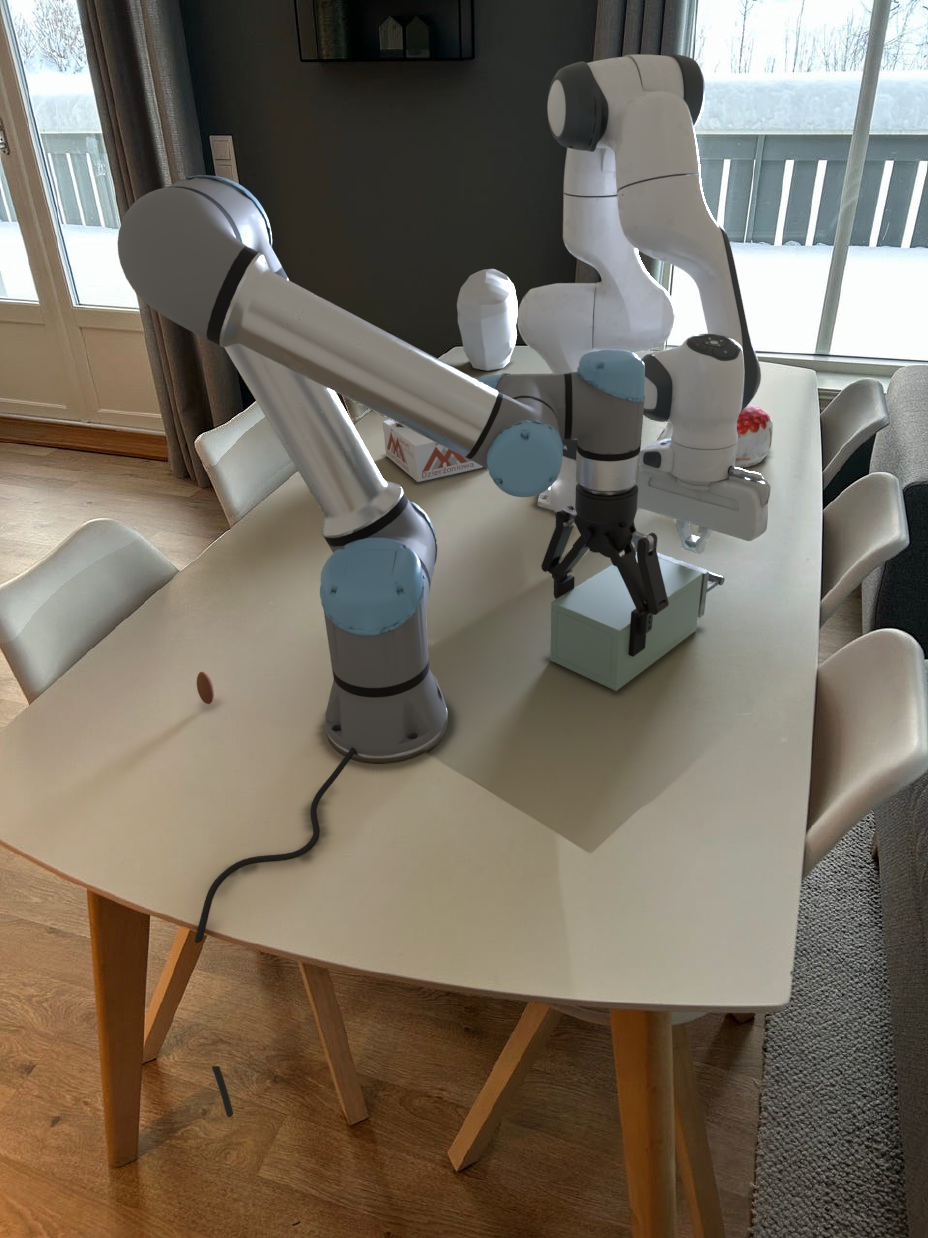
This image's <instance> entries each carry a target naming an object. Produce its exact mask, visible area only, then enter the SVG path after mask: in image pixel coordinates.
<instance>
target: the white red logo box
mask: <svg viewBox="0 0 928 1238" xmlns="http://www.w3.org/2000/svg"><path fill="white" fill-rule="evenodd" d="M382 426H383V437H384V446H385V447H384V449H385V456H386V457H388V459H390V460H391V461H392V462H393V463H394V464H396V465H397V466H398V467H399V468H400V469H402V470H403V471H404V472H405V473H406V474H407V475H409V476H410V477H411V478H412V479H413V480H414V481H416V482H417V483H420V482H425V481H429V480H433V479H434V480H435V479H438V478H443V477H447V476H453V475H455V474H460V473H464V472H470V471H473V470H478V469H483V468H484V467H483V466H481V465H479V464H477V463H475V462H474V461H472V460H470V459H468V458H466V457H464V456H462V455H460V454H458V453H456V452H454V451H452V450H450V449H448V448H446V447H444V446H442V445H440V444H438V443H436V442H434V441H432V440H430V439H428V438H426V437H424V436H422V435H420V434H418V433H416V432H414V431H412V430H410V429H408V428H406V427H404V426H402V425H400V424H398V423H396V422H394V421H392V420H390V419H386V420H382Z"/></svg>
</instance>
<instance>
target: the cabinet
mask: <svg viewBox="0 0 928 1238" xmlns="http://www.w3.org/2000/svg"><path fill="white" fill-rule="evenodd" d="M635 558H636V560H637V552H636V556H635ZM658 560H659V564H660V569H661V573H662V577H663V581H664V586H665V590H666V594H667V598H668V603H669V605H668V607H666V608H665V609H663V610H662V611H661V612H659V613H658V614H656V615H653V621H652V629H651V631H649V632H648V633H647V634H646V644H645V649H643V650H642V651H641V652H639V653H638V654H636V655H635V656H634V657H632V656H630V655H628V653H629V638H630V622H631V612H632V611H633V610H635V609H636V607H635V605H634V603H633V600H632V598H631V596H630V594H629V592H628V590H627V587H626V585H625V583H624V581H623V579H622V577H621V574H620V572H619V570H618V568H617V567H616V566H614V565H613V564H612V563H611V565H609V566H607V567H605V568H604V569H603V570H601V571H599V572H597V573H596V574H595V575H593V576H591V577H589V578H588V579H586V580H585V581H583V582H581V583H580V584H577V585H576V586H574V588H573V589H572V590H570V591H568V592H567V593H565V594H564V595H562V596H560V597H559V598H557V599H555V598H554V600H552V601H551V602H550V659H549V660H550V661H551V662H553V663H555V664H557V665H560V666H562V667H563V668H566V669H568V670H570V671H572V672H574V673H577V674H579V675H581V676H583V677H584V678H587V679H589V680H591V681H593V682H595V683H598V684H600V685H602V686H604V687H606V688H608V689H611V690H612V691H614V692H618V691H619V690H620V689H621V688H623V687H624V686H625V685H626V684H628V683H629V682H631V681H632V680H633V679H634V678H636V677H638V675H639V674H641V673H642V672H644V671H645V670H646V669H648V668H649V667H650V666H651V665H653V664H654V663H656V662H657V661H658V660H659V659H660V658H662V657H663V656H665V655H666V654H667V653H669V652H670V651H671V650H673V649H674V648H675V647H677V646H678V645H679V644H680V643H682V642H683V641H684V640H686V639H687V638H688V637H689V636H691V635H692V634H693V633H695V632H696V631H697V627H698V619H699V617H698V610H699V601H700V592H701V584H702V573H700V572H697V571H694V570H691V569H689V568H686V567H683V566H680V565H677V564H674V563H671V562H669V561H666V560H663V559H660V558H658ZM637 562H638V560H637ZM644 602H645V601H644Z"/></svg>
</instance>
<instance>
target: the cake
mask: <svg viewBox="0 0 928 1238" xmlns="http://www.w3.org/2000/svg"><path fill="white" fill-rule="evenodd" d="M773 425H774V424H773V420H772V418H771V416H770V414H769V413H768V412H767V411H766V410H765V409H763V408H761V407H759V406H756V405H749V404H748V405H747V406H746V407H745V408H744V409H743V410H742V411H741V412H740V414H739V417H738V420H737V433H738V443H737V451H736V459H735V467H736V468H740V469H741V468H748V467H751V466H756V465H757V464H759V463H761V462H762V461H763V460H764V458H766V457H767V455H768V454H769V451H770V449H771V446H772V442H773V433H774V426H773ZM672 432H673V426H672V424H671V423H669V422H667V424H666V426H665V428H664V429H663V430H662V431H661V433H660V434H659V436H658V437H657V439H656V442H657V441H660V440H663V439H669V438H671V435H672Z"/></svg>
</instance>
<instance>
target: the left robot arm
mask: <svg viewBox="0 0 928 1238" xmlns="http://www.w3.org/2000/svg"><path fill="white" fill-rule="evenodd" d="M117 235H118V236H117V255H118V259H119V264H120V267H121V269H122V272H123V274H124V276H125V279H126V280H127V283H129V285H130V287H131V288H132V290H133V292H135V294H136V295H137V296H138V297H139V298H140V299H141V300H142V301H143V302H145V304H147V305H148V307H150V308H151V309H153V310H154V311H155V312H157V313H159V314H160V315H161V316H164V318H167V319H168V320H170V321H172V322H173V323H175V324H177V325H179V326H180V327H183V328H185V329H186V330H188V331H190V332H192V333H193V334H195V335H197V336H199V337H201V338H203V339H206V340H208V341H210V342H212V343H214V344H216V345H218V346H220V347H221V348H223V349H224V350H225V351H226V353H227V355H228V356H229V359H230V360H231V361H232V363H233V365H234V367H235V368H236V370H237V371H238V373H239V375H240V376H241V378H242V380H243V381H244V383H245V385H246V386H247V388H248V390H249V391H250V393H251V395H252V396H253V398H254V399H255V401H256V403H257V405H258V406H259V408H260V410H261V412H262V413H263V415H264V416H265V418H266V420H267V421H268V424H269V425H270V426H271V427H272V429H273V431H274V434H276V436H277V438H278V440H279V442H280V443H281V445H282V447H283V448H284V449H285V451H286V453H287V454H288V456H289V458H290V460H291V461H292V463H293V465H294V466H295V468H296V469H297V472H298V473H299V475H300V477H301V478H302V479H303V481H304V483H305V485H306V487H307V488H308V490H309V491H310V493H311V495H312V496H313V498H314V500H315V501H316V503H317V505H318V506H319V508H320V510H321V511H322V513H323V519H322V523H321V526H320V530H319V531H320V533H321V535H322V537H323V539H324V540H325V541H326V544H327V545H328V547H329V548H330V550H331V552H332V553H331V554H330V555H329V557H327V559H326V560H325V562H324V563H323V566H322V568H321V572H320V586H319V597H320V602H321V607H322V609H323V615H324V616H323V617H324V623H325V628H326V636H327V642H328V650H329V657H330V663H331V664H330V665H331V671H332V677H333V681H332V685H331V689H330V692H329V697H328V701H327V705H326V710H325V715H324V727H325V728H324V729H325V733H326V738H327V741H328V743H329V745H330V746H331V748H333V749H334V750H335V751H336V752H337V753H338V754H339V755H341V756H342V757H343V758H342V759H341V760H340V762H339V763H338V765H337V766H336V768H334V771H332V773H331V774H330V776H329V777H328V778H327V779H326V780H325V782H323V784H322V785H321V786H320V788H319V789H318V791H317V792H316V794H315V795H314V797H313V799H312V802H311V805H310V810H309V811H310V814H309V815H310V822H311V827H312V836H311V838H310V839H309V841H308V842H307V843H306V844H305V845H304V846H303V847H301V848H299V849H297V850H294V851H291V852H287V853H279V854H265V855H256V856H251V857H248V858H247V857H246V858H244V859H241V860H239V861H237V862H235V863H233V864H231V865H229V867H227V868H226V869H225V870H224V871H223V872H222V873H220V874H219V875H218V876H217V877H216V879H214V881H213V882H212V884H211V885H210V886H209V888H208V891H207V893H206V895H205V899H204V903H203V906H202V910H201V914H200V918H199V922H198V926H197V930H196V934H195V937H194V938H195V939H194V943H195V944H199V943H201V942H202V941H203V939H204V936H205V932H206V928H207V924H208V919H209V916H210V912H211V907H212V904H213V900H214V897H215V895H216V892H217V891H218V889H219V887H220V886H221V885H222V883H224V881H225V880H226V879H228V878H229V877H230V876H231V875H232V874H233V873H235V872H236V871H238V870H239V869H242V868H244V867H246V866H250V865H254V864H261V863H273V862H284V861H290V860H294V859H297V858H301V857H302V856H303V855H306V854H307V853H308V852H309V851H311V850H312V849H314V847H316V844H317V843H318V841H319V838H320V832H321V830H320V823H319V819H318V806H319V803H320V801H321V800H322V798H323V796H324V795H325V793H326V792H327V791H328V789H329V788H330V787H331V786H332V785H333V783H334V782H335V781H336V780H337V778H338V777H339V775H340V774H341V773H342V772H343V770H344V769H345V767H346V766H347V765H348V763H349V762H350V761H351V760H352V761H355V762H358V763H363V764H368V765H390V764H391V765H392V764H398V763H402V762H406V761H409V760H412V759H415V758H417V757H420V756H422V755H424V754H426V753H427V752H429V751H430V750H432V749H433V748H434V747H436V746H437V745H438V743H440V742H441V740H442V739H443V738H444V736H445V734H446V732H447V729H448V725H449V720H448V719H449V717H448V708H447V705H446V701H445V697H444V695H443V693H442V690H441V688H440V685H439V682H438V680H437V678H436V677H435V676H434V674H433V673H432V671H431V669H430V659H429V657H430V656H429V655H430V654H429V643H428V630H427V629H428V628H427V613H428V612H427V611H428V604H429V598H430V591H431V586H432V582H433V575H434V570H435V565H436V563H437V558H438V544H437V542H438V541H437V536H436V535H437V534H436V531H435V528H434V525H433V522H432V520H431V519H430V517H429V516H428V514H427V513H426V512H425V510H423V508H421V507H420V506H419V505H418V504H416V503H415V502H413V501H410V500H409V498H408V496H407V495H406V493H405V491H404V489H403V487H402V486H401V485H400V484H398V483H395V482H391V481H388V480H385V479H384V478H383V475H382V474H381V472H380V470H379V468H378V467H377V464H376V463H375V461H374V459H373V457H372V456H371V454H370V452H369V450H368V449H367V447H366V445H365V443H364V441H363V439H362V438H361V436H360V434H359V432H358V431H357V429H356V426H355V425H354V423H353V421H352V419H351V417H350V416H349V414H348V412H347V411H346V409H345V407H344V404H343V403H342V402H341V399H340V398H339V396H338V394H339V395H341V396H342V397H345V398H346V399H348V400H351V401H352V402H354V403H357V404H358V405H361V406H362V407H364V408H367V409H369V410H370V411H373V412H375V413H376V414H379V415H381V416H382V417H385V418H386V419H387V420H392V421H394V422H396V423H398V424H400V425H402V426H404V427H406V428H408V429H410V430H412V431H414V432H416V433H418V434H420V435H422V436H424V437H426V438H428V439H430V440H432V441H434V442H436V443H438V444H440V445H442V446H444V447H446V448H448V449H450V450H452V451H454V452H456V453H458V454H460V455H462V456H464V457H466V458H468V459H470V460H472V461H474V462H475V463H477V464H479V465H481V466H483V468H485V469H486V470H488V473H489V476H490V478H491V479H492V481H493V483H494V484H495V485H496V486H497V488H498V489H500V490H501V491H502V492H503V493H504V494H507V495H509V496H512V497H516V498H517V497H518V498H532V497H535V496H539V495H540V493H542V492H544V491H546V490H547V489H548V488H549V487H550V486H551V485H552V484H553V483H554V482H555V481H556V480H557V477H558V475H559V473H560V470H561V464H562V456H563V444H562V440H563V439H564V440H565V439H577V456H576V481H577V482H578V484H577V485H576V496H575V509H574V507H573V506H568V507H566V508H564V509H562V510H560V511H558V512H555V527H554V530H553V533H552V535H551V537H550V540H549V544H548V547H547V549H546V552H545V555H544V557H543V559H542V562H541V570H542V571H543V572H545V573H547V572H548V573H549V574H550V575H551V577H552V579H553V598H554V600H555V599H557V598H559V597H560V596H562V595H564V594H565V593H567V592H568V591H570V590H572V589H573V588H575V576H574V575H572V574H570V573H572V572H573V569H574V568H575V567H576V566H577V564H578V563H579V562H580V561H581V559H583V557H584V555H585V554H587V552H588V551H589V552H592V553H596V554H600V555H602V556H603V557H605V558H608V559H610V562H611V565H612V564H613V565H614V566H616V567H617V568H618V570H619V572H620V574H621V577H622V579H623V581H624V583H625V585H626V587H627V590H628V592H629V594H630V596H631V598H632V600H633V603H634V605H635V607H636V609H635V610H633V611H632V612H631V622H630V638H629V653H628V655H630V656H632V657H634V656H635V655H636V654H638V653H639V652H641V651H642V650H643V649H645V644H646V634H647V633H648V632H649V631H651V629H652V621H653V615H656V614H658V613H659V612H661V611H662V610H663V609H665V608H666V607H668V605H669V603H668V598H667V594H666V590H665V586H664V581H663V577H662V573H661V569H660V564H659V560H658V556H657V553H658V552H657V548H658V535H657V534H656V533H655V532H649V533H648V534H645V533H642V532H639V531H637V528H636V526H635V518H636V515H637V511H638V508H637V500H638V486H637V485H636V484H637V482H638V480H639V466H640V450H641V449H642V448H641V447H642V437H643V424H644V423H643V421H644V415H643V411H644V401H645V394H644V384H645V365H644V362H643V361H642V358H641V357H640V356H639V355H638V354H636V353H632V352H629V351H624V350H613V349H611V350H601V351H592V352H589V353H586V354H585V355H583V356H582V357H581V359H580V361H579V367H578V368H577V372H570V373H552V372H551V373H510V372H503V373H501V374H491V375H482V376H480V377H478V378H476V377H473V376H472V375H469V374H468V373H465V372H463V371H461V370H459V369H457V368H456V367H454V366H452V365H450V364H449V363H446V362H444V361H442V360H441V359H439V358H437V357H435V356H433V355H431V354H430V353H427V352H426V351H423V350H422V349H420V348H418V347H416V346H414V345H412V344H410V343H408V342H406V341H405V340H403V339H401V338H399V337H397V336H395V335H394V334H391V333H389V332H388V331H386V330H384V329H382V328H380V327H379V326H376V325H374V324H372V323H371V322H369V321H367V320H364V319H363V318H361V317H359V316H357V315H355V314H353V313H352V312H350V311H348V310H346V309H344V308H342V307H340V306H338V305H336V304H335V303H332V302H331V301H329V300H327V299H325V298H323V297H321V296H319V295H317V294H316V293H313V292H312V291H310V290H308V289H306V288H304V287H302V286H300V285H298V284H297V283H295V282H292V281H291V280H290V279H289V277H288V276H287V274H286V271H285V269H284V268H283V266H282V264H281V262H280V260H279V258H278V257H277V255H276V253H275V251H274V250H273V234H272V228H271V224H270V220H269V218H268V215H267V213H266V211H265V209H264V207H263V205H262V204H261V203H260V201H259V200H258V199H257V198H256V196H254V195H253V193H251V191H249V189H247V188H246V187H244V186H243V185H241V184H239V183H238V182H236V181H234V180H231V179H230V178H226V177H222V176H217V175H209V174H206V175H201V174H200V175H199V174H198V175H191V176H188V177H187V178H184V179H181V180H177V181H176V182H175V183H173V184H170V185H167V186H165V187H163V188H158V189H155V190H152V191H150V192H148V193H145V194H144V195H143V196H141V197H140V198H138V199H137V200H136V201H135V202H133V204H132V205H131V206H130V207H129V209H128V210H127V211H126V213H125V214H124V216H123V218H122V221H121V223H120V227H119V229H118V234H117ZM575 510H576V511H575ZM574 527H576V528H577V530H578V531H577V532H579V534H580V535H579V536H578V538H577V539H576V540H575V541H574V543H573V544H572V547H571V548H570V550H569V551H568V552H567V553H566V555H565V556H564V557H563V555H564V552H565V550H566V548H567V545H568V543H569V540H570V537H571V534H572V532H573V530H574ZM633 544H634V545H633ZM623 552H624V554H622V555H620V554H621V553H623ZM636 552H637V560H638V562H637V560H636V558H635V556H636ZM562 558H563V559H562ZM568 574H569V575H568ZM644 601H645V602H644ZM211 1069H212V1072H213V1075H214V1078H215V1081H216V1083H217V1087H218V1090H219V1093H220V1096H221V1100H222V1103H223V1107H224V1110H225V1111H224V1112H225V1114H226V1117H227V1118H231V1117H233V1116H234V1110H233V1106H232V1103H231V1099H230V1096H229V1093H228V1089H227V1085H226V1082H225V1079H224V1076H223V1072H222V1070H221V1066H218V1065H212V1066H211Z"/></svg>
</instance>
